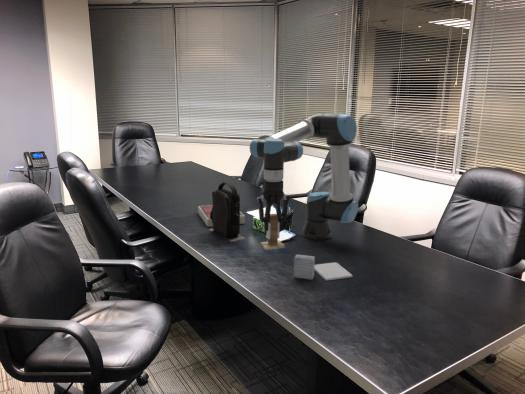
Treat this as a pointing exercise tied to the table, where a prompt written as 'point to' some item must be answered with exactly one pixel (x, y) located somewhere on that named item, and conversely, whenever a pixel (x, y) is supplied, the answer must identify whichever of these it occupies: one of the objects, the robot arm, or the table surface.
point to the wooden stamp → (273, 235)
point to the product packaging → (205, 215)
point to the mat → (331, 271)
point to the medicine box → (304, 266)
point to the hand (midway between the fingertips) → (272, 237)
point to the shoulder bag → (226, 213)
